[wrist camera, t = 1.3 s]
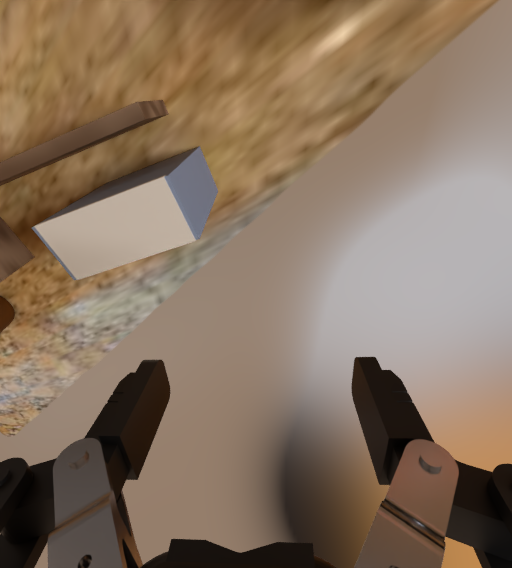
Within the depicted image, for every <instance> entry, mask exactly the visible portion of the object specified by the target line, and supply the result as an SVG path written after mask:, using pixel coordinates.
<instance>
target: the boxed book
mask: <svg viewBox="0 0 512 568" xmlns="http://www.w3.org/2000/svg"><path fill="white" fill-rule="evenodd" d="M217 193H218V189H217V187H216V185H215V182H214V180H213V177H212V175H211V173H210V170H209V168H208V165H207V163H206V160H205V158H204V156H203V153H202V151H201V148H200V146H199V147H197V148H194V149H192V150H189V151H187V152H184V153H182V154H179V155H176V156H174V157H171V158H169V159H166V160H164V161H161V162H159V163H156V164H154V165H151V166H149V167H146V168H144V169H141V170H138V171H136V172H133V173H131V174H128V175H126V176H123V177H121V178H118V179H116V180H113V181H111V182H108V183H106V184H104V185H103V186H101V187H99V188H97V189H96V190H94V191H92V192H91V193H89V194H87V195H86V196H84V197H82V198H81V199H79V200H77V201H76V202H74V203H72V204H71V205H69V206H67V207H65V208H64V209H62V210H60V211H59V212H57V213H55V214H54V215H52V216H50V217H49V218H47V219H45V220H44V221H42V222H40V223H39V224H37V225H35V226H34V227H32V229H33V230H34V232H35V233H36V234H37V235H38V236H39V238H40V239H41V240H42V241H43V243H44V244H45V245H46V246H47V248H48V249H49V250H50V251H51V252H52V254H53V255H54V256H55V257H56V259H57V260H58V261H59V262H60V264H61V265H62V266H63V267H64V268H65V270H66V271H67V272H68V273H69V275H70V276H71V277H72V278H73V280H79V279H82V278H85V277H88V276H91V275H94V274H97V273H100V272H103V271H106V270H109V269H112V268H115V267H118V266H122V265H125V264H128V263H131V262H134V261H137V260H140V259H143V258H146V257H149V256H152V255H155V254H158V253H161V252H164V251H167V250H170V249H173V248H176V247H179V246H182V245H185V244H188V243H191V242H194V241H196V240H197V239H200V236H201V234H202V231H203V228H204V226H205V223H206V221H207V218H208V216H209V213H210V211H211V208H212V205H213V203H214V200H215V198H216V195H217Z"/></svg>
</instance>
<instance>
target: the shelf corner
mask: <svg viewBox="0 0 512 568" xmlns="http://www.w3.org/2000/svg"><path fill="white" fill-rule="evenodd" d="M168 114H169V113H168V111H167V109H166V106H165V104H164V102H163V100H158V101H143V102H135V103H133V104H131V105H129V106H126V107H124V108H122V109H120V110H117V111H115V112H113V113H111V114H108V115H106V116H104V117H102V118H99V119H97V120H95V121H93V122H90V123H88V124H86V125H84V126H81V127H79V128H77V129H74V130H72V131H70V132H68V133H65V134H63V135H61V136H59V137H56V138H54V139H52V140H50V141H47V142H45V143H43V144H41V145H38V146H36V147H34V148H32V149H29V150H27V151H25V152H23V153H20V154H18V155H16V156H14V157H11V158H9V159H7V160H5V161H2V162H0V186H1V185H3V184H5V183H8V182H10V181H12V180H15V179H17V178H19V177H22V176H24V175H26V174H29V173H31V172H34V171H36V170H38V169H41V168H43V167H45V166H48V165H50V164H52V163H55V162H57V161H59V160H62V159H64V158H66V157H69V156H71V155H74V154H76V153H78V152H81V151H83V150H85V149H88V148H90V147H92V146H95V145H97V144H99V143H102V142H104V141H106V140H109V139H111V138H114V137H116V136H118V135H121V134H123V133H125V132H128V131H130V130H132V129H135V128H137V127H139V126H142V125H144V124H146V123H149V122H151V121H154V120H156V119H158V118H161V117H163V116H165V115H168ZM33 258H34V256H33V255H32V253H31V252H30V251H29V250H28V249H27V248H26V246H25V245H24V244H23V243H22V242H21V241H20V239H19V238H18V237H17V236H16V235H15V234H14V232H13V231H12V230H11V229H10V228H9V227H8V225H7V224H6V223H5V222H4V221H3V220H2V218H1V217H0V282H1V281H3V280H4V279H6V278H7V277H8V276H10V275H11V274H12V273H14V272H15V271H16V270H18V269H19V268H20V267H22V266H23V265H25V264H26V263H27V262H29V261H30V260H31V259H33Z"/></svg>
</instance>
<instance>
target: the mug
mask: <svg viewBox="0 0 512 568" xmlns="http://www.w3.org/2000/svg"><path fill="white" fill-rule="evenodd" d="M14 316H15V313H14V309H13V307H12V306H11V304H10V303H9V302H8V301H7V300H6V299H4V298H3V297H1V296H0V333H1V332H2V331H3V330H4V329H5V328H6V327H7V326H8V325H9V324H10V323H11V322H12V321H13V319H14Z"/></svg>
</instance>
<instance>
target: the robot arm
mask: <svg viewBox="0 0 512 568" xmlns="http://www.w3.org/2000/svg"><path fill="white" fill-rule="evenodd" d="M352 396H353V401H354V404H355V408H356V411H357V414H358V417H359V421H360V424H361V427H362V430H363V433H364V437H365V440H366V443H367V446H368V450H369V453H370V456H371V459H372V463H373V466H374V469H375V472H376V476H377V479H378V482H379V484H380V485H390V487H389V490H388V492H387V495H386V497H385V499H384V501H382V503H381V504H380V507H379V509H378V511H377V514H376V516H375V519H374V521H373V523H372V526H371V528H370V531H369V533H368V536H367V538H366V541H365V543H364V546H363V548H362V550H361V553H360V555H359V558H358V560H357V562H356V565H355V567H354V568H441V565H442V561H443V556H444V551H445V542H444V540H445V537H448V538H451V539H453V540H456V541H458V542H461V543H464V544H467V545H469V546H472V547H473V548H474V550H475V552H476V555H477V557H478V559H479V561H480V564H481V566H482V568H512V464H501V465H498V466H497V467H496V468H495V469H494V471H493V472H490V471H486V470H483V469H480V468H476V467H473V466H469V465H466V464H464V463H461V462H459V461H457V460H455V459H454V458H453V457H452V456H451V455H450V453H449V452H448V451H446V450H445V449H444V448H442V447H441V446H440V445H438V444H436V443H435V442H434V440H433V439H432V437H431V435H430V433H429V431H428V429H427V428H426V426H425V424H424V422H423V420H422V418H421V416H420V414H419V412H418V411H417V409H416V407H415V405H414V403H412V399H411V397H410V396H409V394H408V393H407V390H406V388H405V386H404V384H403V382H402V381H401V379H400V378H399V377H397V376H396V375H395V374H394V373H393V372H392V371H391V370H382V369H381V367H380V365H379V363H378V361H377V359H376V358H375V357H356V358H355V360H354V369H353V378H352ZM169 398H170V385H169V381H168V377H167V373H166V370H165V366H164V363H163V361H162V360H143V361H142V362H141V364H140V365H139V367H138V369H137V371H136V372H135V373H130V374H128V375H127V376H126V377H125V378H124V379H122V380H121V381H120V382H119V384H118V386H117V387H116V389H115V390H114V392H113V395H111V397H110V398H109V400H108V403H107V404H106V405H105V406H104V408H103V409H102V411H101V413H100V414H99V416H98V417H97V419H96V421H95V422H94V424H93V425H92V427H91V428H90V430H89V432H88V433H87V435H86V436H85V438H84V439H81V440H78V441H76V442H74V443H72V444H71V445H69V446H68V447H67V448H66V449H64V450H63V451H62V452H61V453H60V455H59V456H58V457H57V458H56V459H53V460H50V461H47V462H43V463H40V464H36V465H33V466H28V464H27V463H26V461H25V460H24V459H22V458H11V459H7V460H5V461H2V462H0V533H1V534H0V568H34V567H35V565H36V563H37V561H38V559H39V557H40V555H41V553H42V551H43V549H44V547H45V546H46V543H47V542H48V568H336V567H335V566H333V565H332V564H331V563H329V562H327V561H325V560H324V559H322V558H319V557H317V556H314V552H313V544H312V543H286V542H285V543H284V542H276V543H273V544H269V545H266V546H263V547H260V548H256V549H253V550H250V551H247V552H242V553H238V552H235V551H232V550H230V549H227V548H224V547H222V546H219V545H217V544H214V543H212V542H209V541H206V540H186V539H171V543H170V547H169V551H168V552H165V553H163V554H161V555H159V556H156V557H155V558H153V559H151V560H150V561H148V562H147V563H145V564H144V565H143V564H142V561H141V558H140V555H139V552H138V549H137V546H136V543H135V539H134V535H133V531H132V527H131V523H130V519H129V515H128V511H127V507H126V503H125V499H124V495H123V492H122V488H123V486H124V483H125V481H126V480H127V479H128V480H130V479H131V480H137V479H138V477H139V474H140V472H141V470H142V467H143V465H144V462H145V459H146V457H147V455H148V452H149V450H150V447H151V444H152V442H153V439H154V437H155V434H156V432H157V429H158V427H159V424H160V422H161V419H162V417H163V414H164V411H165V409H166V407H167V404H168V401H169Z"/></svg>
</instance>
